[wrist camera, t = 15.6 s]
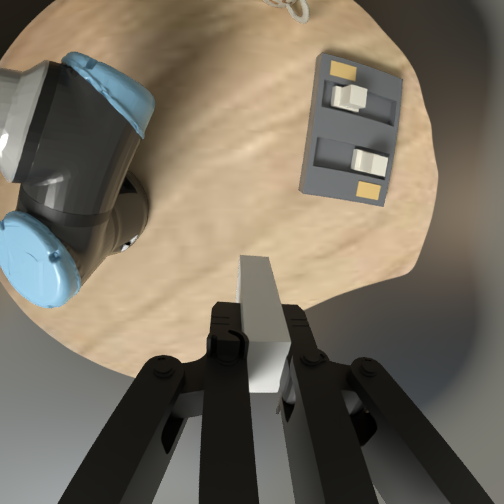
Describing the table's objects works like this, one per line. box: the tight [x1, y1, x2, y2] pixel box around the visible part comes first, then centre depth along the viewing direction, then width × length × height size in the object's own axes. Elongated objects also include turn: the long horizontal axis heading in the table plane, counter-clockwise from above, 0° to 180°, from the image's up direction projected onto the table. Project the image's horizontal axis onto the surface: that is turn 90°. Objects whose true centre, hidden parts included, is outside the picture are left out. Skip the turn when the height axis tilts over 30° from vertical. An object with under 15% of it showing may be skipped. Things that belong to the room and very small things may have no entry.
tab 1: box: [331, 84, 367, 112], centre depth 33 cm, size 4×3×6 cm
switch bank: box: [299, 53, 403, 207], centre depth 37 cm, size 14×22×3 cm, turn 173°
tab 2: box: [351, 149, 388, 177], centre depth 37 cm, size 4×3×6 cm
